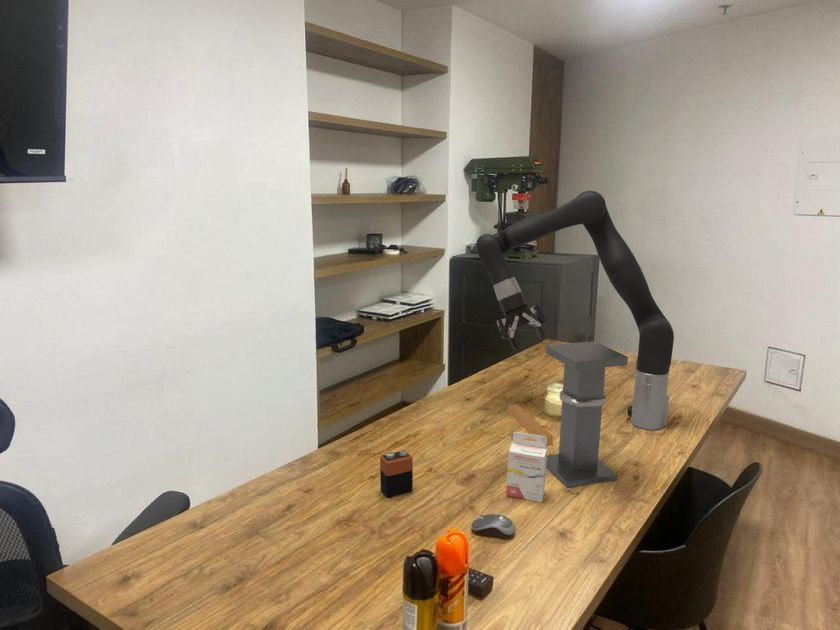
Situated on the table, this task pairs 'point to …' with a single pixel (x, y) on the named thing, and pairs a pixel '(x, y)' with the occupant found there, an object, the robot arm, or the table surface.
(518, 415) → the bar
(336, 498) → the table surface
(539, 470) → the ink cartridge box
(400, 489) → the battery
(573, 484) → the stand
